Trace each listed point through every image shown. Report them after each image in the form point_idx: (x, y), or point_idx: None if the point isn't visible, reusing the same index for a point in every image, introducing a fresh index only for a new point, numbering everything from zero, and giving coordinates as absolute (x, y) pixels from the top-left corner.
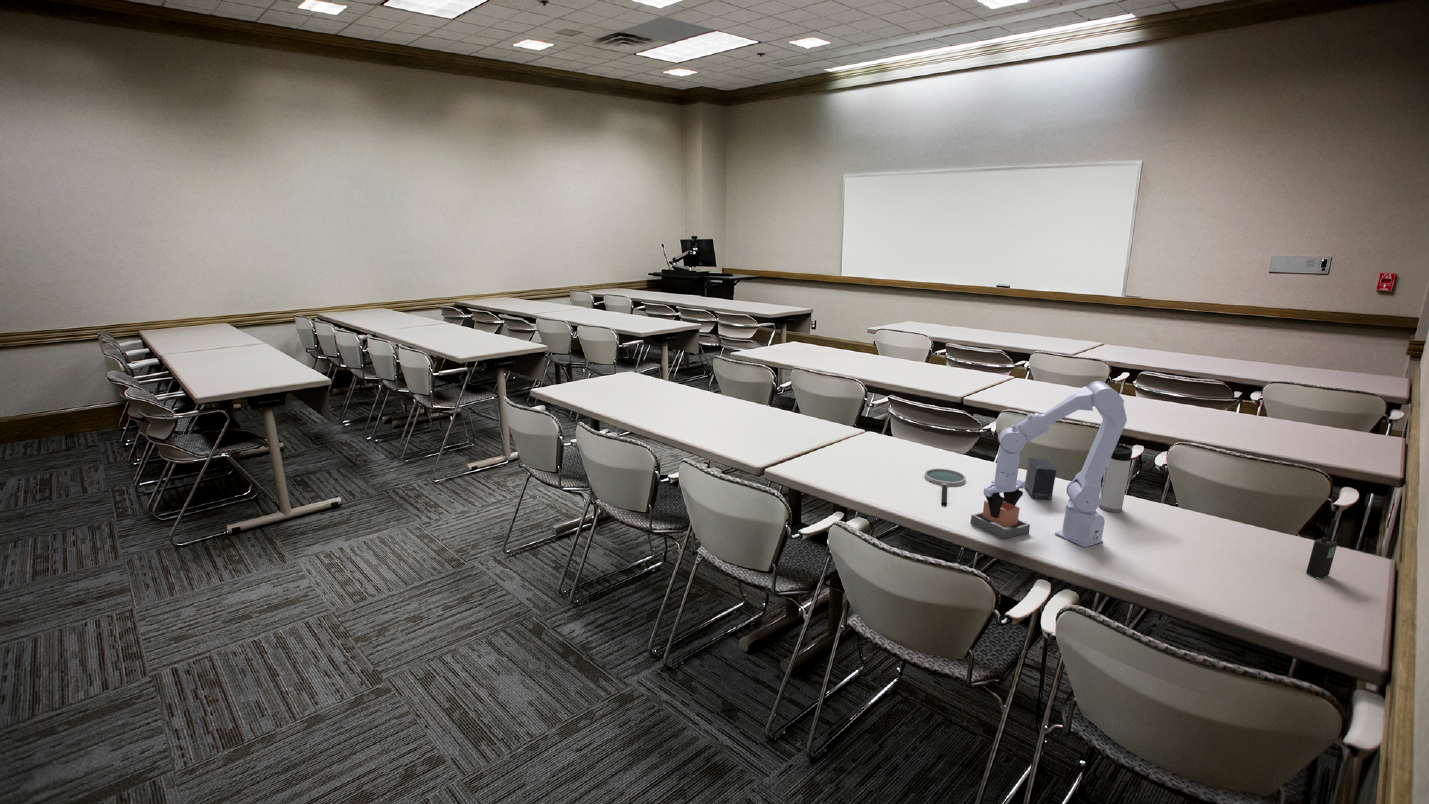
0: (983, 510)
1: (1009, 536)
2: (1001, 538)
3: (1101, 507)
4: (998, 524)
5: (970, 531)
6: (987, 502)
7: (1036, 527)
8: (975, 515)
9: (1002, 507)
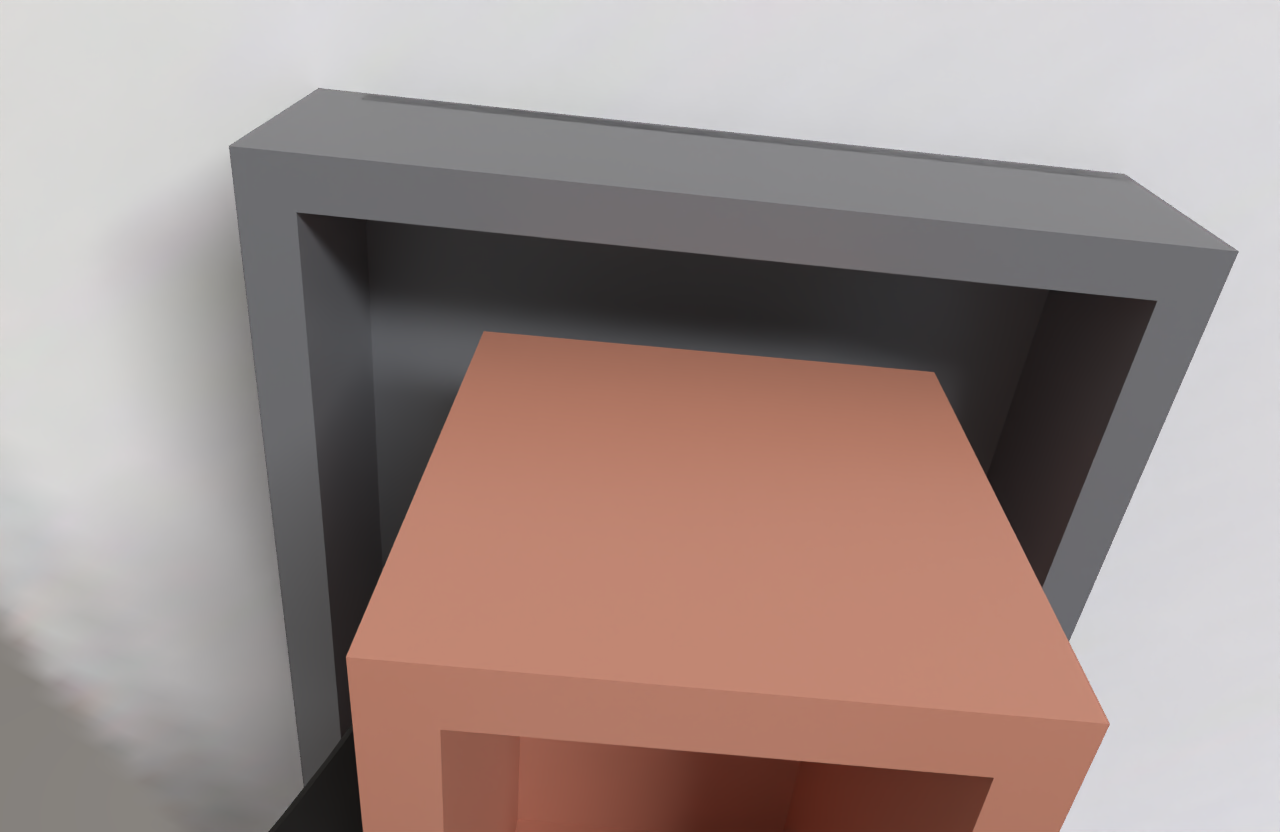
0: (445, 433)
1: None
2: None
3: None
4: None
5: (45, 344)
6: (357, 772)
7: (1222, 764)
8: (335, 213)
9: (876, 783)
